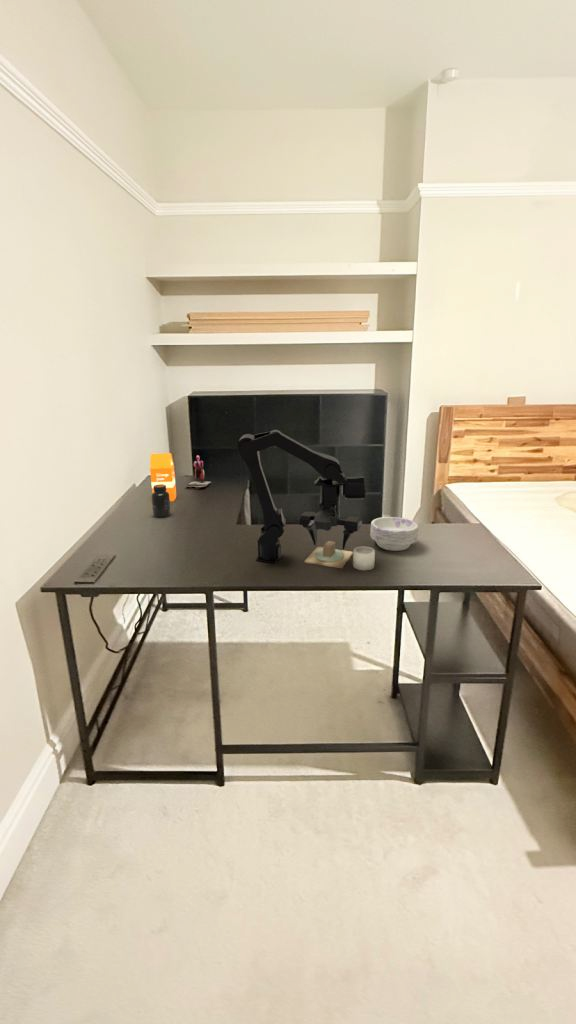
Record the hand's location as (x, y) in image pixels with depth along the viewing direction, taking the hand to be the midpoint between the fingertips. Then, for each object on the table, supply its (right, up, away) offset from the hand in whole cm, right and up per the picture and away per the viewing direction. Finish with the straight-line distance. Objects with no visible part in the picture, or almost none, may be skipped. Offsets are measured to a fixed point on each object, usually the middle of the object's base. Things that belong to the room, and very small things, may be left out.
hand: (329, 547), depth 163 cm
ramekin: (+10, -5, -5) cm, 12 cm away
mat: (0, -4, +1) cm, 4 cm away
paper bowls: (+22, 0, +10) cm, 24 cm away
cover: (0, -3, +1) cm, 3 cm away
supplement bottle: (-62, +9, +43) cm, 77 cm away
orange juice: (-66, +16, +64) cm, 94 cm away
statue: (-55, +23, +83) cm, 102 cm away
